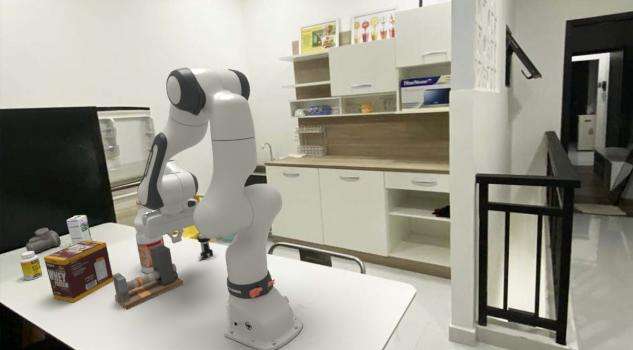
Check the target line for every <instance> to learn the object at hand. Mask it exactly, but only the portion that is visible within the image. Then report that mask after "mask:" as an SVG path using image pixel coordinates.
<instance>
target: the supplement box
mask: <svg viewBox="0 0 633 350" xmlns="http://www.w3.org/2000/svg"><path fill="white" fill-rule="evenodd" d="M109 257H110V256H109V252H108V246H107V242H105V241H99V240H98V241H97V240H92V241H91V240H84V241H82V242H80V243H77V244H75V245H73V244H72V245H70V246H68V247H66V248H63V249H60V250H57V251H55V252H53V253H51V254H48V255H46V256H44V257H43V260H44V264H45V268H46V272H47V276H48V279H49V283H50V287H51V291H52V295H53V299H57V300H60V301H65V302H70V303H76V302H78V301H79V300H82V299H83V298H85V297H87V296H89V295H91V294H93V293H94V292H96V291H97V290H99V289H101V288H103V287H105V286H107V285H109V284H110V283H112V282H114V281H113V277H112V275H113V271H112V266H111V261H110V258H109Z"/></svg>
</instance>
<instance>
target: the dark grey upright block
mask: <svg viewBox="0 0 633 350" xmlns="http://www.w3.org/2000/svg"><path fill="white" fill-rule="evenodd" d="M164 245H165V244H164ZM164 245H162V244H159V245H156V246H154V247H151V248H150V253H151V259H152V264H153V270H154V271H156V270H160V275H161V278H159V279H157V281H159V282H160V283H162V284H163V285H165V284H168V283H170V282H172V281H174V280H175V277H174V271H173V265H172V264H173V260H172V254H171V248H170V247H168V246H166V245H165V246H164Z"/></svg>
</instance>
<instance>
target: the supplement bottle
mask: <svg viewBox="0 0 633 350" xmlns="http://www.w3.org/2000/svg"><path fill="white" fill-rule="evenodd" d="M19 263H20V267H21V271H22V274H23V277H24V280H25V281H31V280H35V279H37V278H40V277H41V276H42V275H43V271H42V267H41V263H40V258H39V255H36V254H35V253H34V251H26V252H22V253H21V259H20V260H19Z"/></svg>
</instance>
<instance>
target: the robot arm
mask: <svg viewBox="0 0 633 350" xmlns="http://www.w3.org/2000/svg"><path fill="white" fill-rule="evenodd" d="M165 84H166V85H165V86H166V89H165V90H166V95H167V98H168V100H169V102H170V104H169V109H168V111H169V112H168V117H167V121H166V123H165V125H164V127H163V128H162V129H161V131H160V132H158V133H157V134H156V135H155V137H154V138H153V141H152V144H151V146H150V150H149V154H148V157H147V160H146V161H147V162H146V165H145V168H144V172H143V176H142V177H141V180H140V182H139V184H138V185H137V191H136V192H137V199H138V200H139V202H140V203H141V205H143V206H144V207H146V208H148V209H151V210H153V211H150V212H146V214H144V215H143V217H142V222H143V224H144V235H145V237H147V238H149V239H153V238H156V237H159V236H162V235H163V236H165V235H167V236H169V238H170V239H171V243H172V244H177V243H180V242H182V240H183V239H182V236H183V234H184V232H185V231H184V229H186V228H190V227H192V226H193V227H195V229H196V230H197V232H198V234H199V235H200V234H201V235H202V236H204V237H206V238H208V239H210V240H211V239H218V238H219V239H220V238H224V237H229V236H231V235H234V234H235V236H234V238H233V240H232V241H231V242H230V243H229V245H228V246H227V248H226V250H225V256H224V257H225V263H226V264H225V265H226V271H227V272H226V273H227V277H226V287H227V291H228V293H229V295H228V300H227V303H226V327H225V329H224V336H225V337H226V338H228V339H231V340H233V341H236V342H239V343H241V344H243V345H245V346H248V347H250V348H253V349H255V350H277V349H280V348H282V347H283V346H285V345H287V344H288V343H289V342H291V341H292V340H294V339H295V338H296V336H297V335H299V333H300V332H301V331H302V329H303V326H304V324H303V321H302V320H301V319H299V318H298V317H297V316H296V315H295V314H294V313H293V310H292V307H291V305H290V302H289V301H290V300H289V297H288V296H286V295H284V296H283V295H282V294H281V292H279V290H278V289H277V287H275V285H274V284H275V283H276V282H275V279H273V278H272V275H271V273H270V270H269V269H268V260H267V259H268V256H267V244H268V238H269V235H270V231H271V228H272V225H273V222H274V221H275V219H276V217H277V216H278V214H279V213H280V212H281V210H282V207H283V205H282V204H283V199H282V195H281V193H280V190H279V189H278V188H277V187H276V186H274V185H273V184H271V183H254V184H251V185H248V186H246V185H245V184H246V182H247V180H248V178H249V177H250V176H251V174H253V172H254V171H255V170H256V168H257V165H258V152H257V145H256V144H257V142H256V134H255V124H254V119H253V115H252V110H251V108H250V103H249V98H250V96H251V86H250V82H249V80H248V78H247V76H246V75H245V74H244V73H243V72H241V71H239V70H236V69H231V68H228V69H226V68H225V69H223V68H215V67H209V66H207V67H206V66H202V67H201V66H200V67H191V68H189V67H180V68H177V69H174V70H172V71H170V73H169V75H168V76H167V78H166V82H165ZM208 126H209V127H210V139H211V151H212V165H213V166H212V167H213V169H212V175H211V180H210V182H209V186H208V188H207V190H206V192H205V194H204V195H203V197H202V198H201V199H200V201H199V200H198V199H195V197H196V195H197V194H198V191H199V182H198V178H197V176H195V174H194V173H192V172H190V171H186V170H184V169H183V168H182V167H180V166H179V164H178V161H177V160H174V159H172V158H173V157H175V156H176V155H177V154H179V153H181V152H183V151H185V150H186V151H187V150H188V149H191V148H192V147H194V146H197V145H198V144H199V143H201V142H202V141H203V139H204V138H205V136H206V134H207V132H208ZM145 215H146V216H145ZM174 232H178V233H177V235H176V236H174V235H175V234H174Z"/></svg>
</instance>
